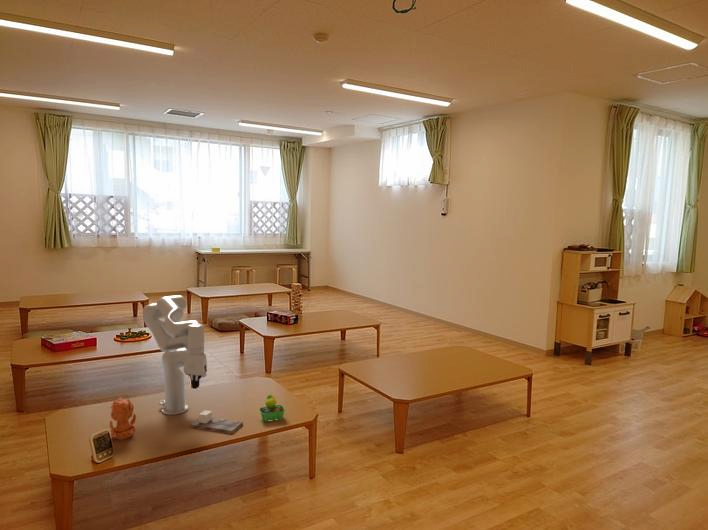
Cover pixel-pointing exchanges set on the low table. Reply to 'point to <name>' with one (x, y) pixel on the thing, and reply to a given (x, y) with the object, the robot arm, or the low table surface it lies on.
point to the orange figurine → (122, 419)
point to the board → (218, 425)
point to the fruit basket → (271, 409)
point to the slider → (205, 416)
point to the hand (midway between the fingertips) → (195, 387)
